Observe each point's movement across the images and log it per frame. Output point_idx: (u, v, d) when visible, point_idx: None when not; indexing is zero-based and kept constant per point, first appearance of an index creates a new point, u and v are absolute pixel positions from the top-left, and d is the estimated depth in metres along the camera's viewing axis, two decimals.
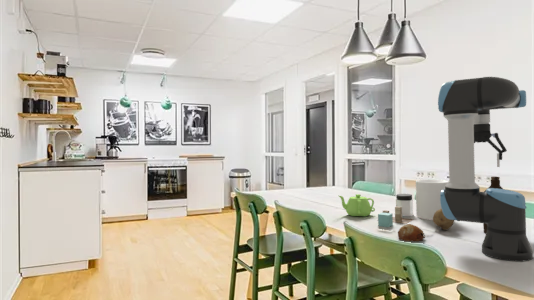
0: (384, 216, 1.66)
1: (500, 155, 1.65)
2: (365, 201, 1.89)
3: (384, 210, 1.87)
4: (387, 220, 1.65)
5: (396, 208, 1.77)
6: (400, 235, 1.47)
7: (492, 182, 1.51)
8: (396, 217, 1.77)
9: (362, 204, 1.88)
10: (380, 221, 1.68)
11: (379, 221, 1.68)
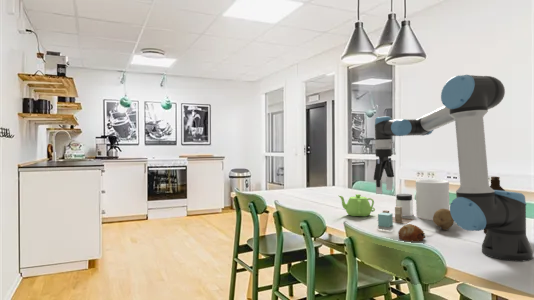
0: (384, 216, 1.66)
1: None
2: (365, 201, 1.89)
3: (384, 210, 1.87)
4: (387, 220, 1.65)
5: (396, 208, 1.77)
6: (400, 235, 1.47)
7: (492, 182, 1.51)
8: (396, 217, 1.77)
9: (362, 204, 1.88)
10: (380, 221, 1.68)
11: (379, 221, 1.68)
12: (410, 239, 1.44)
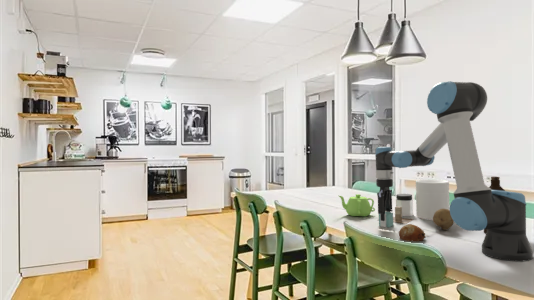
0: None
1: None
2: (365, 201, 1.89)
3: None
4: (388, 219, 1.65)
5: (396, 208, 1.77)
6: (401, 235, 1.47)
7: (492, 182, 1.51)
8: (396, 217, 1.77)
9: (362, 204, 1.88)
10: None
11: None
12: (410, 239, 1.44)
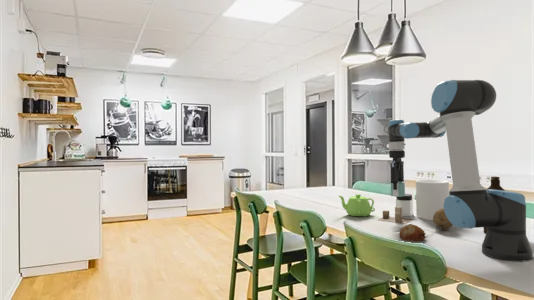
0: None
1: None
2: (365, 201, 1.89)
3: (384, 210, 1.87)
4: (400, 188, 1.74)
5: (396, 208, 1.77)
6: (401, 235, 1.47)
7: (492, 182, 1.51)
8: (396, 217, 1.77)
9: (362, 204, 1.88)
10: None
11: (392, 190, 1.77)
12: (411, 239, 1.44)
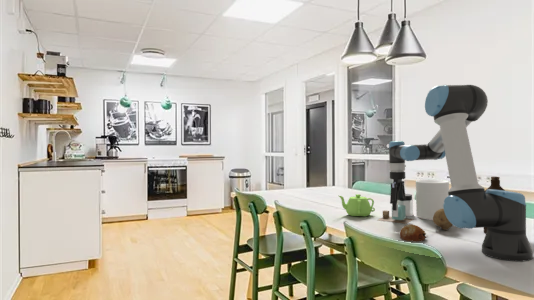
0: None
1: None
2: (365, 201, 1.89)
3: (384, 210, 1.87)
4: (400, 212, 1.74)
5: None
6: (402, 235, 1.47)
7: (492, 182, 1.51)
8: None
9: (362, 204, 1.88)
10: None
11: None
12: (411, 239, 1.44)
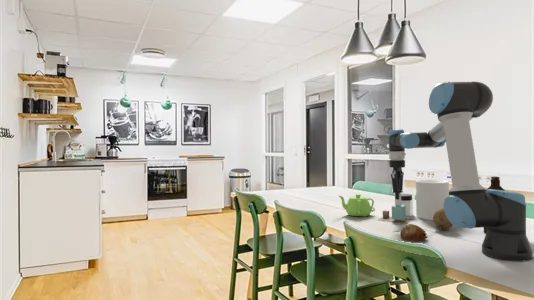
0: (397, 208, 1.75)
1: None
2: (365, 201, 1.89)
3: (384, 210, 1.87)
4: (400, 212, 1.74)
5: None
6: (402, 235, 1.47)
7: (492, 182, 1.51)
8: None
9: (362, 204, 1.88)
10: (394, 213, 1.76)
11: (393, 213, 1.77)
12: (412, 239, 1.44)
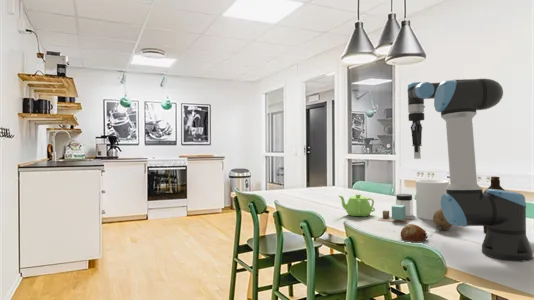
0: (397, 208, 1.75)
1: None
2: (365, 201, 1.89)
3: (384, 210, 1.87)
4: (400, 212, 1.74)
5: None
6: (403, 235, 1.47)
7: (492, 182, 1.51)
8: None
9: (362, 204, 1.88)
10: (394, 213, 1.76)
11: (393, 213, 1.77)
12: (412, 239, 1.44)
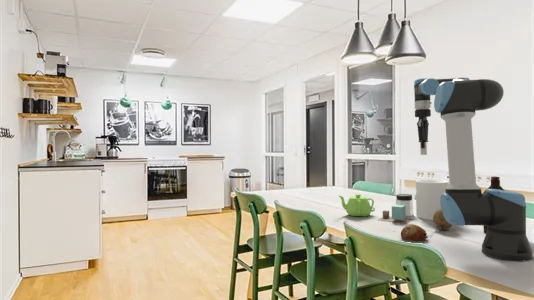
0: (397, 208, 1.75)
1: None
2: (365, 201, 1.89)
3: (384, 210, 1.87)
4: (400, 212, 1.74)
5: None
6: (403, 235, 1.47)
7: (492, 182, 1.51)
8: None
9: (362, 204, 1.88)
10: (394, 213, 1.76)
11: (393, 213, 1.77)
12: (412, 239, 1.44)
